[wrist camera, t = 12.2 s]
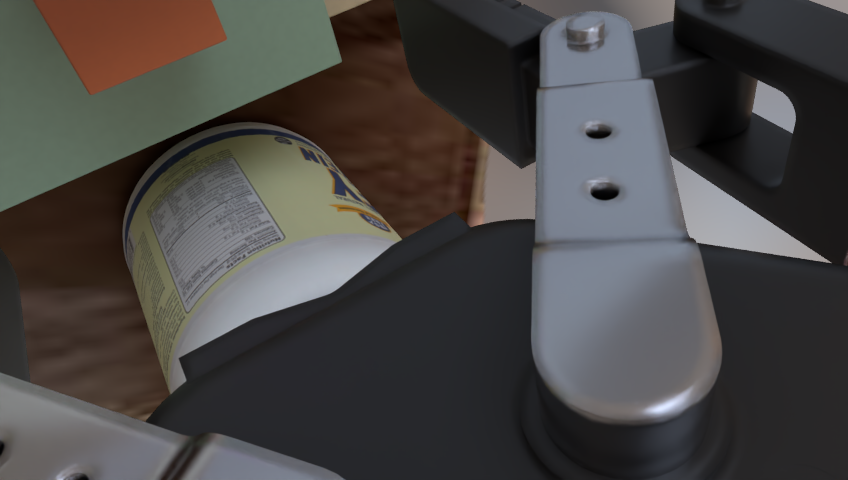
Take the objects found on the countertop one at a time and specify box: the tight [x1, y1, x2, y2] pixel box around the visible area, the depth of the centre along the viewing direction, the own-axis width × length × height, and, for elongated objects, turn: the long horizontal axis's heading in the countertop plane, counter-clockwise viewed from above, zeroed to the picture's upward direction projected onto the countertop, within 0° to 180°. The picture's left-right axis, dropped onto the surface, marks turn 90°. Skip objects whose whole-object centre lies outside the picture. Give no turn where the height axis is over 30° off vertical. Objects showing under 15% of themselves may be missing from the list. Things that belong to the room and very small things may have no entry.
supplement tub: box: [122, 122, 402, 394], centre depth 31 cm, size 12×12×17 cm
